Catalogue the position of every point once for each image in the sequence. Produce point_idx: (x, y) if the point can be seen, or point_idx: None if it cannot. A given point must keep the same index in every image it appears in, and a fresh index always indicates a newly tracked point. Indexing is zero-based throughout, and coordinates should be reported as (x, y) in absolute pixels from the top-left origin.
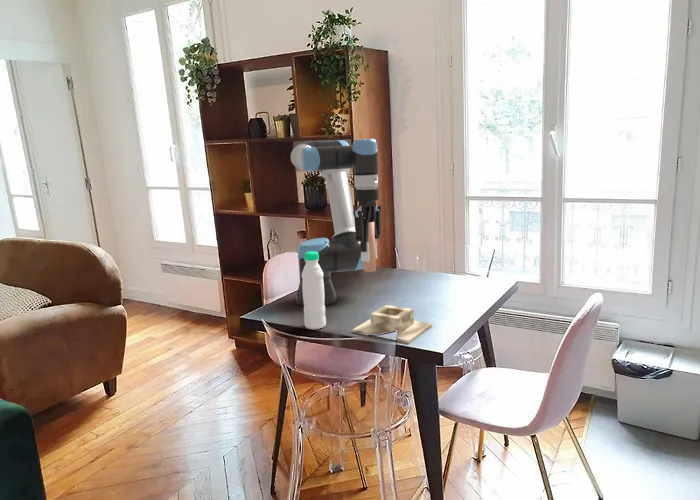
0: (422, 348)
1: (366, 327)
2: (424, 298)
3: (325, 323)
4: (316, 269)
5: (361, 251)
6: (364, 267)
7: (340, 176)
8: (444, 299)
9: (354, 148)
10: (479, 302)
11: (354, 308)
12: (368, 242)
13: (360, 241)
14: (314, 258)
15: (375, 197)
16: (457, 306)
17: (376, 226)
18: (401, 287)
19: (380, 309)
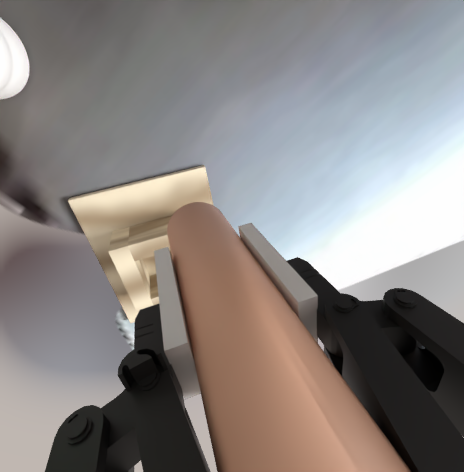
0: (133, 342)
1: (109, 216)
2: (372, 158)
3: (14, 94)
4: None
5: (140, 314)
6: (169, 234)
7: None
8: (379, 197)
9: None
10: (381, 255)
11: (215, 41)
12: (195, 390)
13: (126, 395)
14: None
15: None
16: (348, 243)
17: (459, 407)
18: (441, 31)
19: (157, 243)
